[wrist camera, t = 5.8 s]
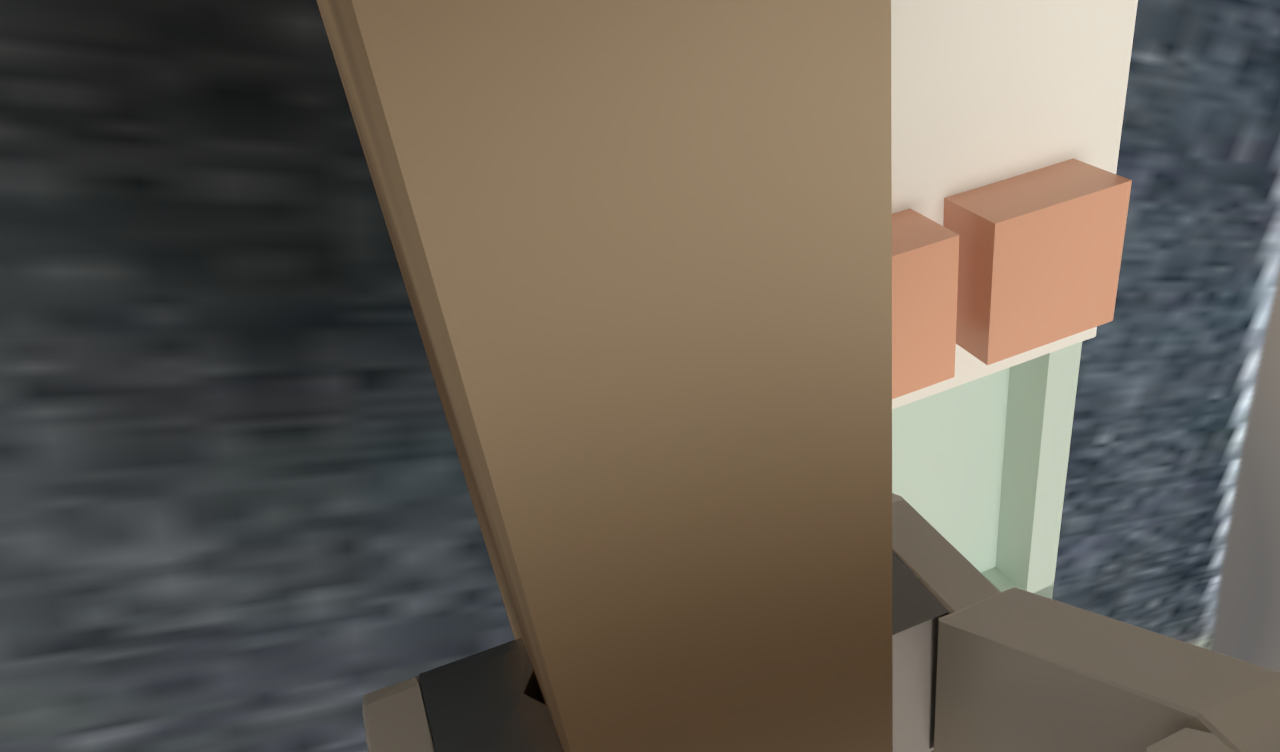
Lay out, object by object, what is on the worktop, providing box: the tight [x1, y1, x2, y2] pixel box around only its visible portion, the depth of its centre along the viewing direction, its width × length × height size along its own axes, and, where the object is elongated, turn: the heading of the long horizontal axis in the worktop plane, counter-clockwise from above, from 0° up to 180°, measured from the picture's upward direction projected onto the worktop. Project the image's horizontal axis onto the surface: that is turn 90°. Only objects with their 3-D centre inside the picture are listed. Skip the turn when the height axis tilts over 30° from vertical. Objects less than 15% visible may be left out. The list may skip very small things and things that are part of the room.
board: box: [891, 0, 1138, 409], centre depth 24 cm, size 18×12×3 cm, turn 9°
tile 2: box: [943, 158, 1132, 365], centre depth 25 cm, size 4×4×2 cm
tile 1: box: [892, 209, 959, 399], centre depth 24 cm, size 4×4×2 cm
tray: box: [892, 342, 1082, 599], centre depth 32 cm, size 12×12×2 cm
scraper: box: [316, 0, 934, 752], centre depth 9 cm, size 13×11×4 cm
